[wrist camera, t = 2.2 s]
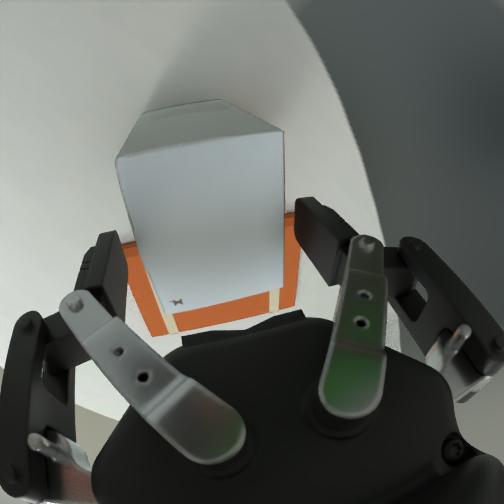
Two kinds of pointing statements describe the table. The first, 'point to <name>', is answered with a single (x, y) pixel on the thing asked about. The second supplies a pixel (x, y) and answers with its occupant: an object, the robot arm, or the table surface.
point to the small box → (206, 203)
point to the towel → (219, 312)
